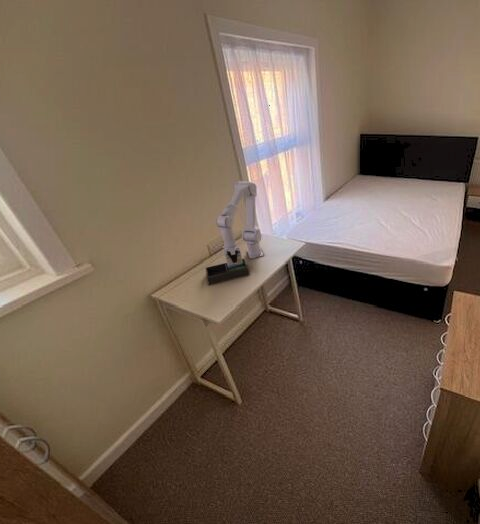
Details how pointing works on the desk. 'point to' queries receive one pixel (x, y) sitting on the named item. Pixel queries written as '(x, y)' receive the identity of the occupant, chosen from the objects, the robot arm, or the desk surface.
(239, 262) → the medicine box
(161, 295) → the desk surface
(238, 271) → the organizer
